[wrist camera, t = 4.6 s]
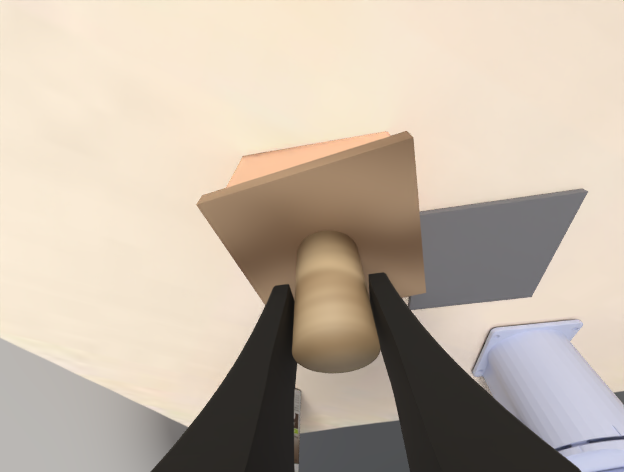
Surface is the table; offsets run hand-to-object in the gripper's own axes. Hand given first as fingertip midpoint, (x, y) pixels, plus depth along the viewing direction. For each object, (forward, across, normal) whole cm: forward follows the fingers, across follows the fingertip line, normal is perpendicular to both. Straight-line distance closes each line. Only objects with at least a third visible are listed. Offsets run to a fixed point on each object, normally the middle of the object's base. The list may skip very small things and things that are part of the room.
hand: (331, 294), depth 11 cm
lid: (+3, 0, 0) cm, 3 cm away
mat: (+7, -11, +6) cm, 15 cm away
